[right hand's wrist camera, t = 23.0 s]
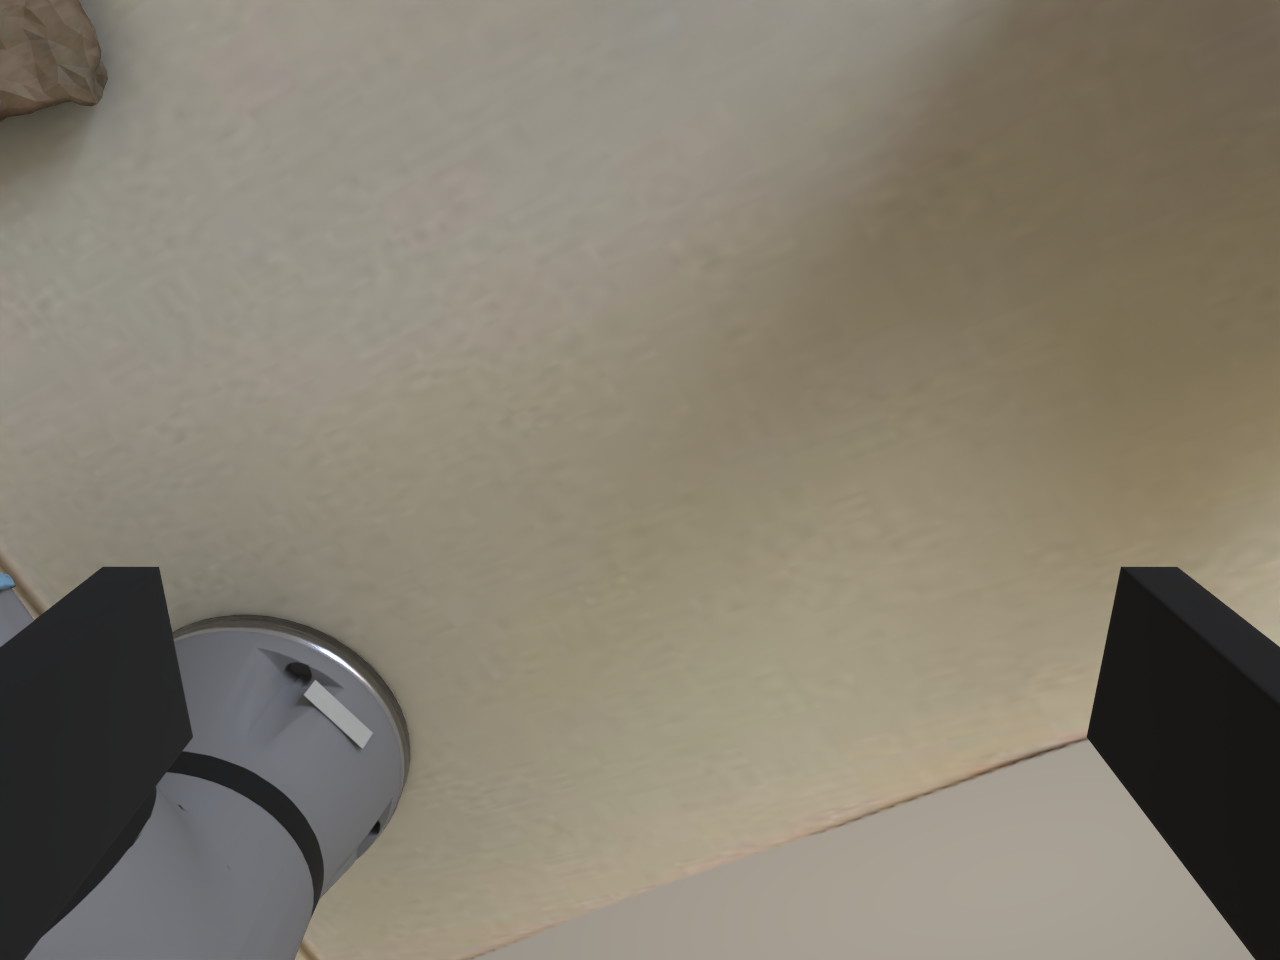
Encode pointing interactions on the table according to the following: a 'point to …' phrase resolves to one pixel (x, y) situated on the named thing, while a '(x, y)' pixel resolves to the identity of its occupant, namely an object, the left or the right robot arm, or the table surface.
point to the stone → (47, 56)
